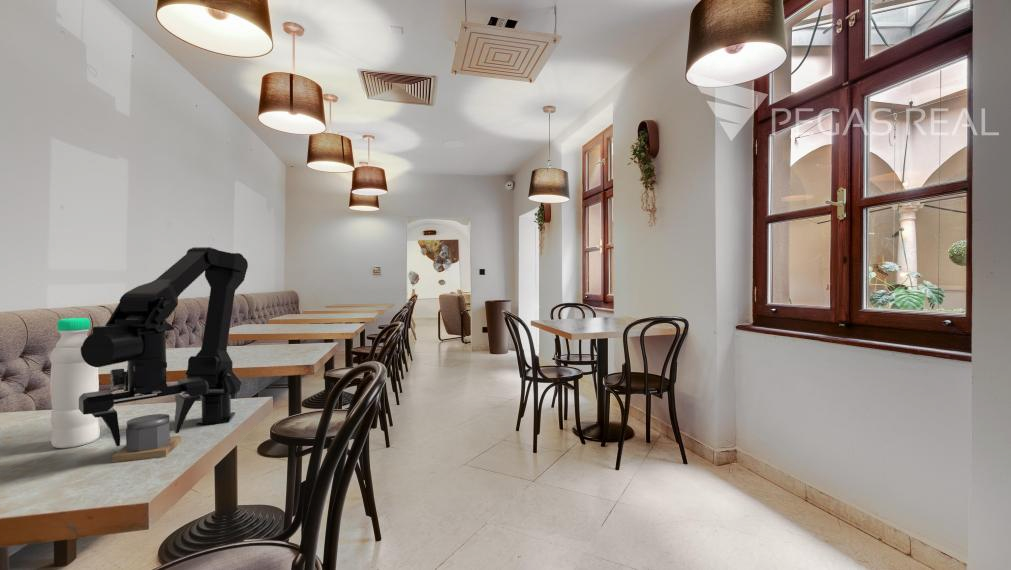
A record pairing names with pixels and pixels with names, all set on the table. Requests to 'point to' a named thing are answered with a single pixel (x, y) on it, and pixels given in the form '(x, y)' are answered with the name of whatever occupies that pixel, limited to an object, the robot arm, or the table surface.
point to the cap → (147, 432)
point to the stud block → (147, 452)
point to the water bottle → (72, 387)
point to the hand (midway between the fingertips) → (148, 439)
